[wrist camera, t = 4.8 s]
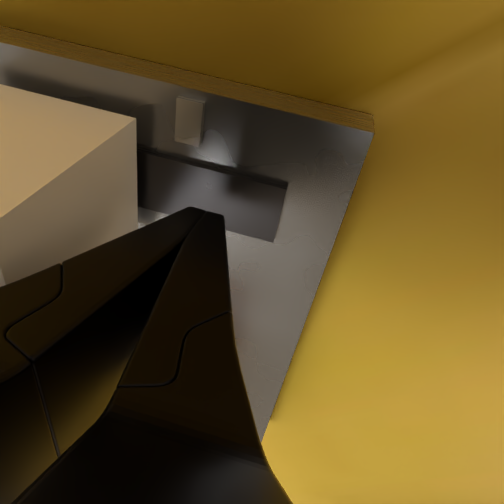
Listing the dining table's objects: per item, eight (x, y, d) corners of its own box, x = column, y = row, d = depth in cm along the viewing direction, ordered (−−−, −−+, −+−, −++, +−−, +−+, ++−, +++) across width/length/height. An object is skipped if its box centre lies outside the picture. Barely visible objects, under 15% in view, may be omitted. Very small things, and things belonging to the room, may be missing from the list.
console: (373, 114, 9) (374, 136, 8) (264, 421, 18) (258, 452, 17) (-294, -45, 11) (-368, -44, 10) (-98, 312, 19) (-126, 334, 18)
